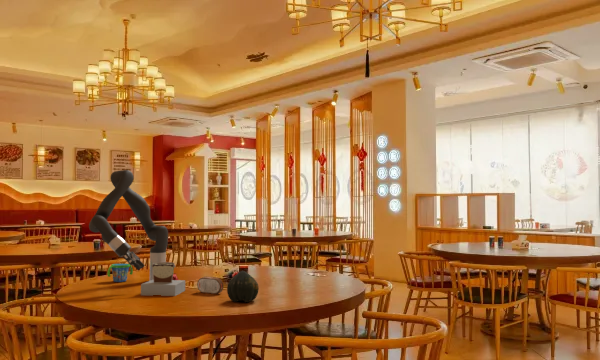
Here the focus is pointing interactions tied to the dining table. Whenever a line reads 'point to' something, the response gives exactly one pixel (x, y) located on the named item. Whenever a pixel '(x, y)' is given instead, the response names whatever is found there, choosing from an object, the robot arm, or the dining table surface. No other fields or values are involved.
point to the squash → (242, 287)
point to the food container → (163, 272)
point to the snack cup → (120, 272)
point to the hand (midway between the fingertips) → (141, 268)
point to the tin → (210, 285)
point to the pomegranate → (174, 276)
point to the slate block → (163, 288)
